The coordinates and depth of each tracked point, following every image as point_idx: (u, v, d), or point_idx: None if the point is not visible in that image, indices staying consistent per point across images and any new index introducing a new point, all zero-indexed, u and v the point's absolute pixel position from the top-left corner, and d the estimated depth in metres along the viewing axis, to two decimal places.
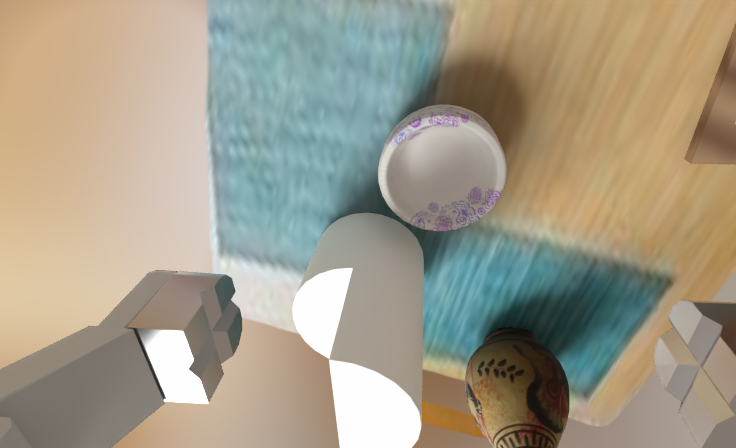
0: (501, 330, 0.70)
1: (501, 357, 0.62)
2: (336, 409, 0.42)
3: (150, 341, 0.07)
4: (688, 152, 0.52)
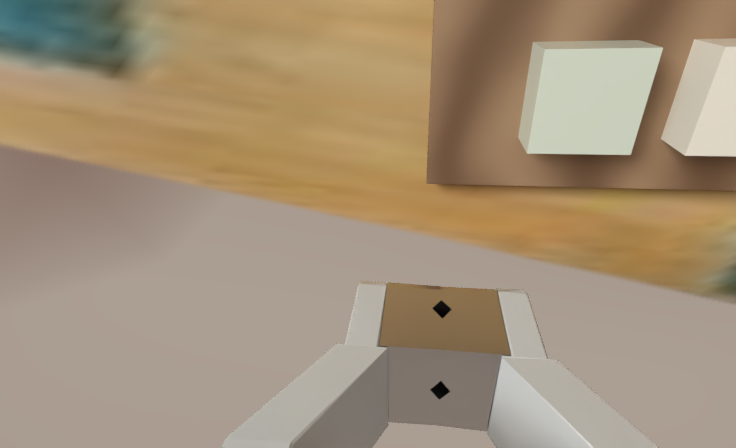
0: None
1: None
2: None
3: (400, 360, 0.06)
4: None
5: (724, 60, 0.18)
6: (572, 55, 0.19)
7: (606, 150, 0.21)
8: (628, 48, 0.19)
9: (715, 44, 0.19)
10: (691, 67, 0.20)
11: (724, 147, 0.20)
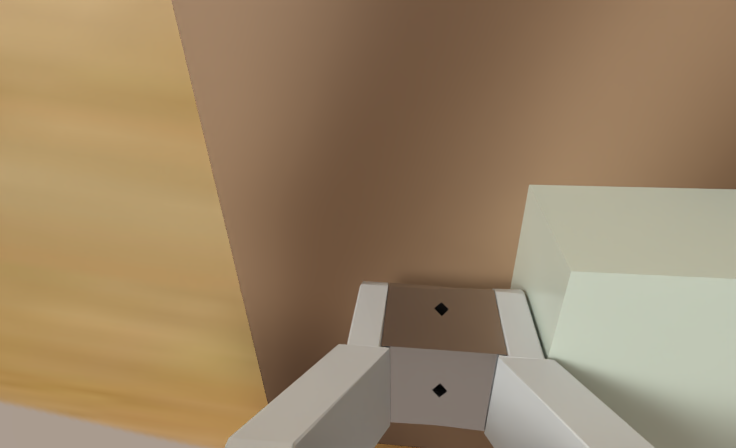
0: None
1: None
2: None
3: (402, 360, 0.06)
4: None
5: None
6: (672, 296, 0.05)
7: None
8: None
9: None
10: None
11: None
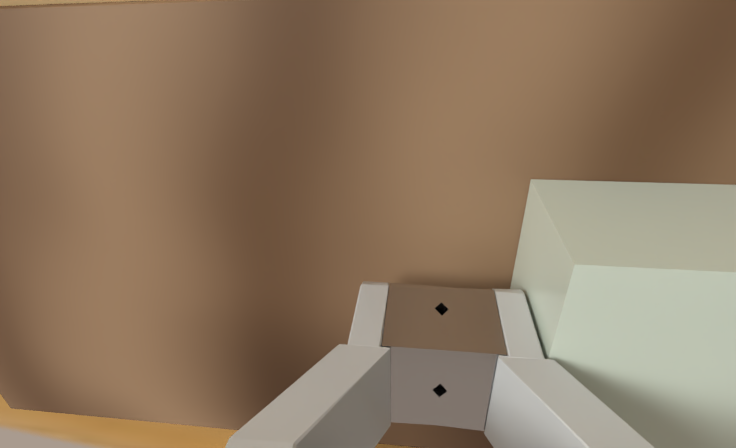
0: None
1: None
2: None
3: (403, 360, 0.06)
4: None
5: None
6: (676, 289, 0.05)
7: None
8: None
9: None
10: None
11: None
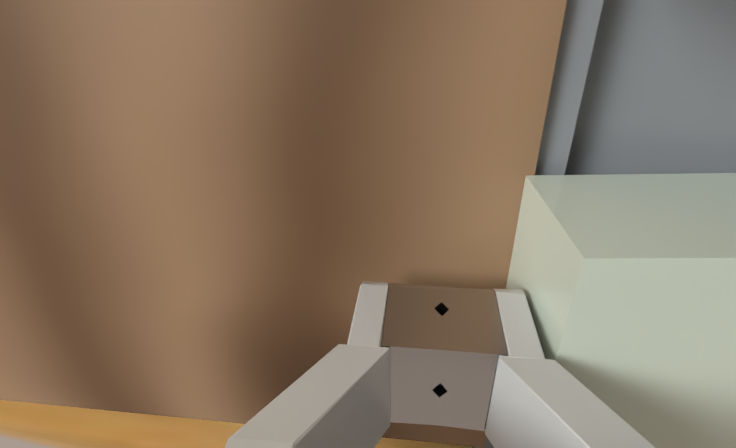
0: None
1: None
2: None
3: (402, 360, 0.06)
4: None
5: None
6: (680, 278, 0.05)
7: None
8: None
9: None
10: None
11: None
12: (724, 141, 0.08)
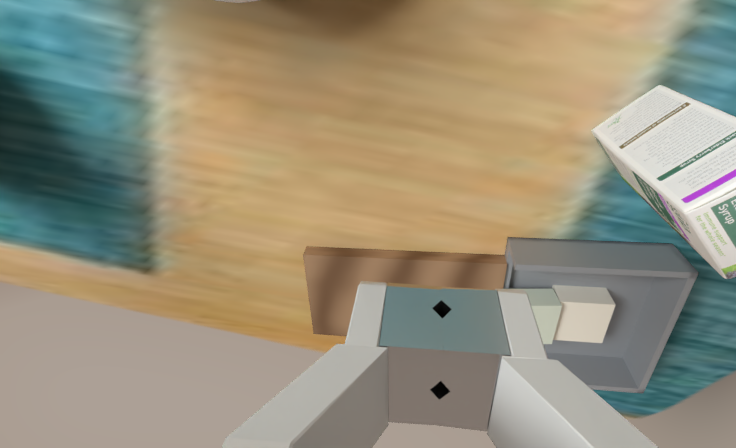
0: None
1: None
2: None
3: (400, 360, 0.06)
4: (315, 248, 0.43)
5: None
6: None
7: None
8: (546, 305, 0.39)
9: (557, 296, 0.40)
10: None
11: (567, 337, 0.42)
12: (538, 281, 0.42)
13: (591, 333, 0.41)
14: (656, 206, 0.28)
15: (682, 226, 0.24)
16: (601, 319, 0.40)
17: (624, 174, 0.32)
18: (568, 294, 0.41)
